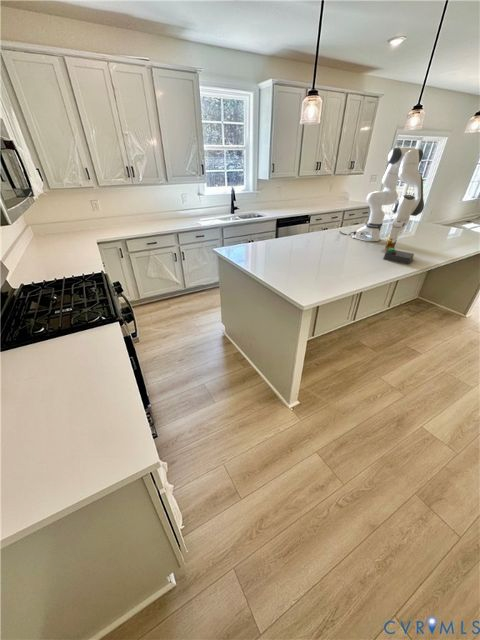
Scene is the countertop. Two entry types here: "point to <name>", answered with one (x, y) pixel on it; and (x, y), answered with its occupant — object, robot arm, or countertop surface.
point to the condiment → (389, 244)
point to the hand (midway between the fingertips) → (393, 242)
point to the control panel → (398, 256)
